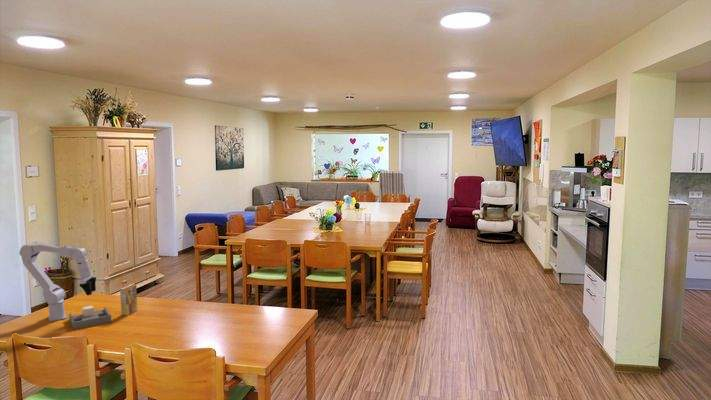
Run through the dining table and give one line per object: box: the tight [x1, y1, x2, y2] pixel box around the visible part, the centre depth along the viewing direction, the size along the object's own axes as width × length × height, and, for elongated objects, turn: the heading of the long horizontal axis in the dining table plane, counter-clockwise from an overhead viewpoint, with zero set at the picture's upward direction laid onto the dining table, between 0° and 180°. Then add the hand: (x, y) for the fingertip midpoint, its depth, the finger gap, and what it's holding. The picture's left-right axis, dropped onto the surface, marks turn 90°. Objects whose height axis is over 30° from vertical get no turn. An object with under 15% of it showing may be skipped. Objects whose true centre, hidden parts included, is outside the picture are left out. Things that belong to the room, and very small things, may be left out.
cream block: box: [81, 305, 95, 317], centre depth 270 cm, size 5×5×4 cm
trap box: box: [68, 306, 112, 330], centre depth 266 cm, size 17×18×4 cm
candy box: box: [119, 283, 139, 316], centre depth 277 cm, size 9×4×15 cm, turn 166°
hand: (91, 293), depth 270 cm, fingers open, 7 cm apart
